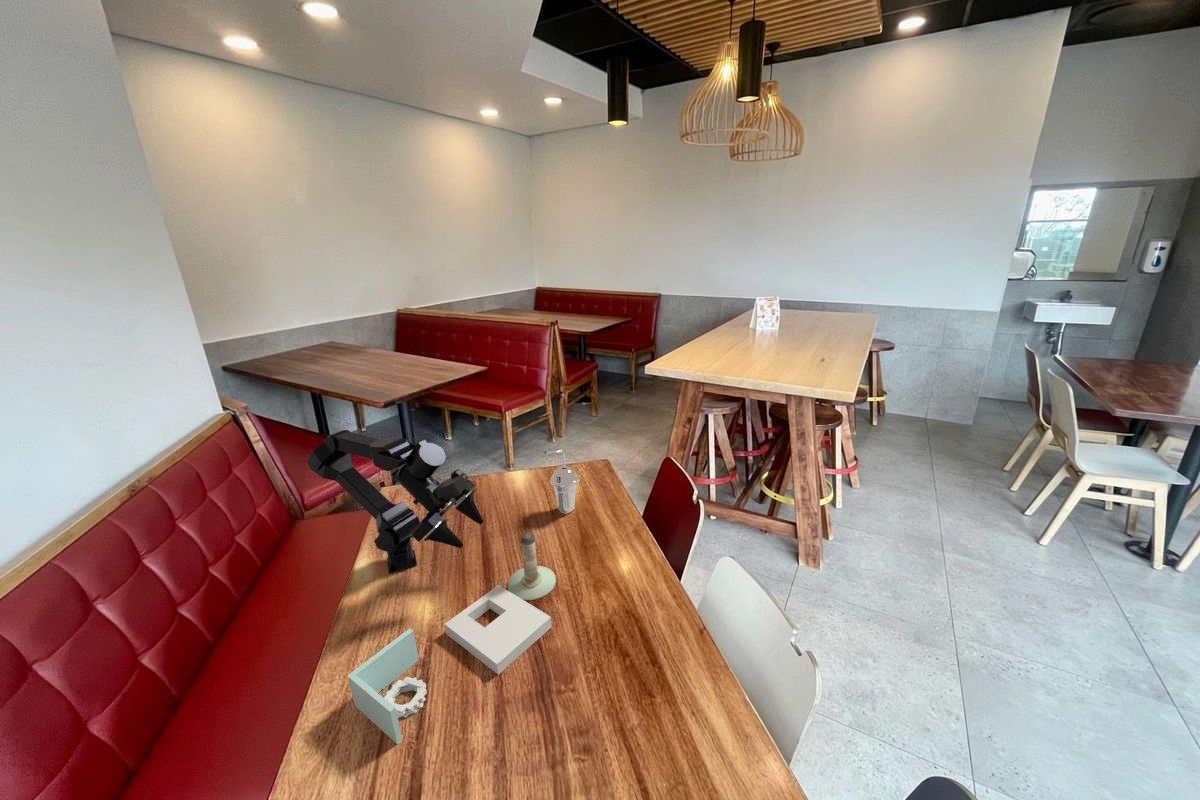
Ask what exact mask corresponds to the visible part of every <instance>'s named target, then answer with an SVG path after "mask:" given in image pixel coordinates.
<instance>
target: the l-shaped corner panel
mask: <svg viewBox="0 0 1200 800" xmlns="http://www.w3.org/2000/svg"><path fill="white" fill-rule="evenodd" d="M415 637H416V636H415V632H414V630H413V629H412V628H410V627H409V628H408V629H407V630H406V631H404V632H403V633H402V634H400V635H399V636H397V637H396V638H394V640H392V641H391V642H390V643H388V644H387V645H385V646H384V647H383V648H382V649H381V650H379V651H378V652H376V653H375V654H374V655H373V656H371V657H370V658H369V659H368V660H366V661H365V662H364V663H362V664H361V665H359V666H358V667H357V668H355V669H354V670H352V672H350V673H349V674H348V675H347V676H346V677H347V681H348V684H349V688H350V693H351V696H352V700H353V702H354V703H353V704H354V707H355V706H356V707H357V708H358V709H359V710H360V711H361V713H362V712H363V713H364V714H365V715H366V716H367V717H368V718H369V719H370V720H369V719H368V718H367V717H366V716H365V715H364V714H363V713H362V714H363V715H364V716H365V717H366V718H367V719H368V720H369V721H371V720H372V721H371V722H372V723H373V724H374V723H375V724H376V725H377V726H378V727H379V730H381V732H383V733H384V734H385V735H386V736H387V737H389V738H390V739H391V741H393V742H394V743H395V744H396V745H400V743H401V742H402V741H403V735H402V731H401V726H400V722H399V719H400V718H402V717H404V719H406V718H407V717H408V716H410V715H412V714H416V713H417V712H418V709H420V708H423V707H424V702H425V701H426V697H425V696H426V695H427V694H428V692H427V689H426V688H427V684H426V683H425V682H423V679H419V680H417V677H415V676H414V677H413V678H412V677H409V676H405V678H404V679H403V680H401V679H398V678H399V677H400V676H402V675H403V674H404V673H405V672H406V671H407V670H409V668H411V667H412V666H413V665H414V664H416V663H417V662H419V661H420V658H419V654H418V649H417V647H418V646H417V642H416V639H415ZM396 679H398V680H397V681H396ZM394 681H396V682H395V683H394V684H392V683H393V682H394ZM390 684H392V685H391V688H390V689H389V690H387V691H386V693H385V694H386V695H384V697H383V696H382V695H381V694H380V693H381V692H382V691H383V690H385V689H386V688H387V687H388V686H390ZM386 686H387V687H386ZM385 687H386V688H385ZM384 688H385V689H384ZM382 689H383V690H382ZM381 690H382V691H381ZM380 691H381V692H380ZM410 691H415V692H416V693H415V695H414V696H413V697H412V698H411V700H410V701H409V702H406V703H404V704H399V703H396V702H395V700H396V698H397V697H398V696H399V695H400V694H401V693H406V692H410ZM379 692H380V693H379ZM378 693H379V694H378ZM356 707H355V708H356ZM357 708H356V709H357ZM358 709H357V710H358ZM359 710H358V711H359ZM360 711H359V712H360ZM375 724H374V725H375ZM376 725H375V726H376ZM377 726H376V727H377Z"/></svg>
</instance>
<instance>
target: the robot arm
mask: <svg viewBox="0 0 1200 800" xmlns="http://www.w3.org/2000/svg"><path fill="white" fill-rule="evenodd" d="M427 441H428V440H426V439H425V438H424V439H422V440H420V441H418V442H416V443H413V442H411V441H409V440H408V439H407V438H404V437H389V438H388V437H387V438H376V437H373V436H367V435H364V434H359V433H355V432H351V431H350V430H349V429H342V430H339V431H336V432H334V433H331V434H329V435H327V437H326V438H324V440H323V442H321V444H319V445H318V446H317V447H316V448H314V450H313V451H312V452H311V453H309V455H308V459H307V465H308V467H309V469H310V470H311V471H313V472H314V473H316V475H318V476H319V477H321V478H322V479H325V480H330V481H334V482H336V483H338V485H339V486H340V487H341V488H343V489H344V490H345V491H346V492H347V493H348V494H349V495H350V496H351V497H352V498H353V499H354V500H355V501H356V502H357V503H358V504H359V505H361V507H362V508H364V509H365V511H366V512H367V513H369V514H370V515H371V516H372V517H373V518H374V520H375V523H376V529H377V530H376V531H377V533H378V536H377V537H376V538H375V539H374V540H373V542H374V544H375V546H376V549H377V550H381V551H383V552H386V553H387V557H386V561H387V569H388V570H387V571H388V574H393V573H397V572H400V571H403V570H406V569H409V568H412V567H416V566H417V565H418V561H417V557H416V552H415V550H414V549H413V545H412V540H411V539H412V538H413V539H415V541H417V542H418V543H420V542H421V541H422V540H423V541H424V542H426V541H432V542H435V543H436V542H437V543H441V544H445V545H449V546H452V547H455V548H458V549H462V548H463V547H464V543H463V542H462V540H461V539H460V538H458V536H457V535H456V534H455V533H454V532H453V531H452V530H451V529H450V528H449V527H448V524H447V519H446V518H444V519H443V520H442V517H443V516H444V515H445V514H446V513H447V512H448V511H449V510H450V509H451V508H452V507H453V506H456V507H454V509H455V510H456V511H458V512H460V513H461V514H463V515H464V516H466V517H467V518H468V519H470V520H472V521H473V522H475V523H477V524H478V525H482V524H483V523H484V520H483V517H482V515H481V513H480V512H479V509H478V507H477V505H476V503H475V500H474V499H475V498H474V497H475V496H474V494H475V492H476V490H475V489H474V488H475V487H476V484H474V482H473V481H472V480H470V479H468V478H469V476H468V475H467V474H466V473H465V472H464V471H463V470H461V469H460V468H457V469H455V470H453V471H452V472H451V474H450V477H449V478H448V479H447V480H443V479H442V478H441V477H437V478H436V479H435V478H434V477H432V476H433V475H434V474H435V472H437V470H438V469H439V468H440V467H441V466H442V465H443V463H445V461H446V453H445V450H444V449H443V448H442V447H441V446H440V445H438V444H435V443H434V442H427ZM352 455H354V456H357V457H361V458H364V459H368V460H370V461H372V464H373V466H375V467H377V468H378V469H380V470H383V471H386V472H390V471H392V470H394V469H396V470H395V471H393V472H392V473H391V474H390V475H391V484H392V486H396V485H397V484H400V486H401V487H402V488H403V489H404V490H406V491H407V492H408V493H409V494H410V495H411V496H412V497H413V498H414V500H413V501H412V503H413V504H414V505H416V506H417V505H418V504H420V505H422V506H423V507H424V509H426V511H428V512H427V513H426V514H425V517H424V518H423V519H422V520H421V521H420V518H419V516H418V515H417V514H416V513H415V510H413V509H411V508H410V507H409V506H408V505H407V504H406V503H405V502H403V501H400V502H399V503H392V502H391V501H390V500H389V498H387V497H385V495H384V494H383V493H382V492H381V491H380V490H378V489H377V488H376V487H375V486H374V485H373V484H372V482H370V481H369V480H368V479H367V478H366V477H365V476H363V474H361V472H359V471H358V470H357V469H356V468H355V466H353V462H352V461H353V460H352ZM399 467H400V469H399ZM397 468H398V469H397ZM471 490H472V491H471ZM425 536H426V537H425Z"/></svg>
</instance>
